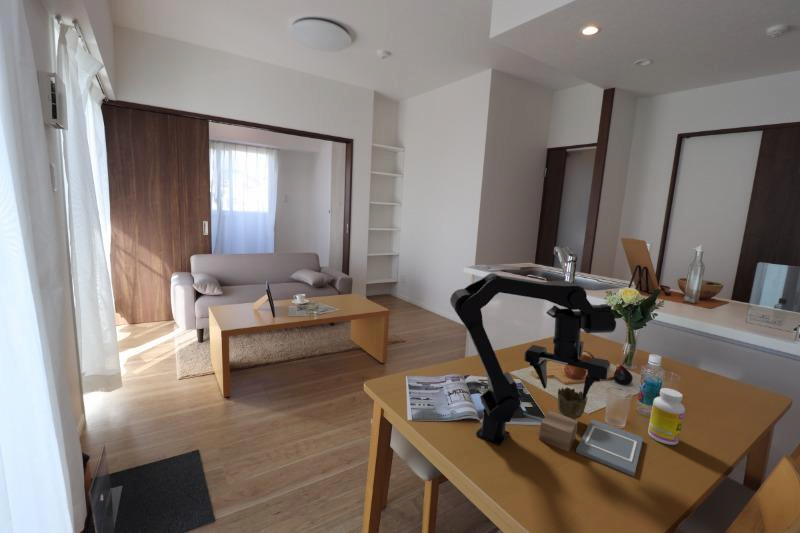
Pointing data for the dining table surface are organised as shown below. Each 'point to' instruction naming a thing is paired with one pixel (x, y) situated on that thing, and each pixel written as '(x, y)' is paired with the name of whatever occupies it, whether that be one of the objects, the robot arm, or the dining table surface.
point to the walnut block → (558, 430)
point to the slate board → (611, 446)
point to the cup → (571, 403)
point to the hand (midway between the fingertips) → (564, 393)
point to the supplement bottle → (667, 417)
